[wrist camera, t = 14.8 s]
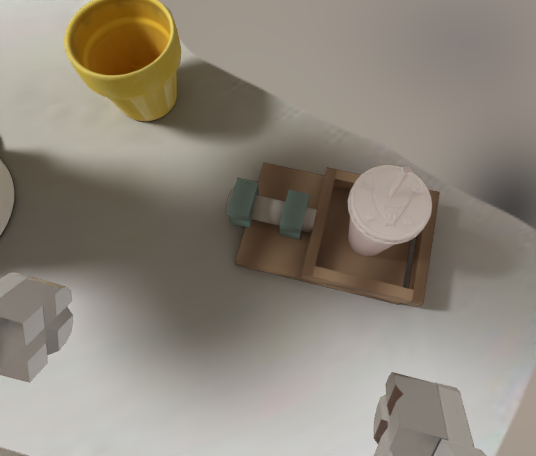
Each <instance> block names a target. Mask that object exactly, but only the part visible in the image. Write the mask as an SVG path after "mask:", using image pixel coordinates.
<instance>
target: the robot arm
mask: <svg viewBox="0 0 536 456" xmlns="http://www.w3.org/2000/svg"><path fill="white" fill-rule="evenodd" d="M13 204H14V185H13V181H12V178H11V175H10V173H9V171H8V169H7V167H6V166H5V165H4V163H3V162H2V161H1V160H0V235H1V233H2V232H3V230H4V229H5V227H6V225H7V223H8V221H9V218H10V216H11V213H12V209H13ZM71 302H72V294H71V290H70V289H69V288H68V287H65V286H62V285H58V284H55V283H51V282H48V281H44V280H41V279H37V278H34V277H29V276H26V275H22V274H19V273H15V272H14V273H8V274H7V275H5V276H4V277H2V278H1V279H0V375H2V376H6V377H10V378H14V379H18V380H22V381H26V382H31V381H32V380H33V379H34V377H35V376H36V375H37V374H38V373H39V372H40V371H41V370H42V369H43V368H44V367H45V365H46V364H47V363H48V355H49V354H52V353H54V352H57V351H59V350H60V349H61V348H62V347H63V345H64V344H65V343H66V342H67V340H68V338H69V336H70V334H71V331H72V326H73V314H72V313H71V312H70V310H69V309H68V307H67V306H68V305H69V304H70V303H71ZM374 439H375V441H376V442H377V444H378V447H377V449H376V452H375V454H374V456H486V455H485V454H484V452H483V451H482V450H480V449H476V448H474V444H473V440H472V436H471V433H470V429H469V425H468V421H467V417H466V414H465V410H464V406H463V402H462V398H461V394H460V391H459V390H458V389H457V388H455V387H451V386H447V385H442V384H438V383H433V382H429V381H425V380H421V379H417V378H413V377H409V376H405V375H401V374H397V373H393V372H392V373H391V374H390V375H389V377H388V380H387V382H386V395H384V396H382V397H380V400H379V403H378V406H377V409H376V414H375V419H374ZM0 456H28V455H25V454H22V453H19V452H15V451H12V450H9V449H6V448H2V447H0Z"/></svg>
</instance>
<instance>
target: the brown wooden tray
mask: <svg viewBox="0 0 536 456" xmlns="http://www.w3.org/2000/svg"><path fill="white" fill-rule="evenodd" d="M360 176H361V175H359V174H355V173H350V172H346V171H341V170H337V169H332V168H328V167H327V170H326V174H325V176H322V175H318V174H313V173H309V172H304V171H300V170H295V169H291V168H286V167H282V166H277V165H273V164H268V163H263V167H262V170H261V174H260V177H259V181H258V182H254V181H250V180H245V179H241V178H237V182H236V185H235V188H234V190H231V191H230V194H229V196H228V200H227V205H226V213H227V214H228V216H229V220H230V223H231V224H235V225H239V226H243V227H245V230H244V233H243V237H242V240H241V244H240V247H239V251H238V254H237V258H236V261H235V263H236V265H239V266H243V267H247V268H251V269H256V270H260V271H264V272H268V273H272V274H276V275H280V276H284V277H288V278H292V279H296V280H300V281H304V282H308V283H312V284H316V285H320V286H325V287H329V288H333V289H337V290H341V291H345V292H349V293H353V294H357V295H361V296H365V297H369V298H373V299H377V300H381V301H385V302H389V303H393V304H399V303H403V304H407V305H411V306H415V307H417V306H419V305H421V304H423V302H424V295H425V288H426V281H427V274H428V267H429V261H430V254H431V247H432V240H433V233H434V227H435V220H436V213H437V206H438V199H439V192H437V191H432V190H429V193H430V195H431V200H432V211H431V216H430V218H429V221H428V222H427V224H426V225H425V227H424V229H423V230H422V231H421V232H420V233H419V234H418V235H417V237H416V243H415V249H414V256H413V262H412V268H411V274H410V281H409V287H408V288H404V287H403V284H404V278H405V272H406V265H407V259H408V253H409V247H410V241H411V240H409V241H407V242H404V243H400V244H395V245H393V246H391V247H389V248H388V249H386V250H384V251H382V252H381V253H379V254H377V255H375V256H370V257H368V256H362V255H360V254H358V253H356V252H355V251H354V250H353V249H352V248H351V246H350V244H349V240H348V235H349V224H350V214H349V211H348V198H349V194H350V190H351V189H352V187H353V185H354V183H355V182H356V180H357V179H358V178H359V177H360Z"/></svg>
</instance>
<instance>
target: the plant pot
mask: <svg viewBox="0 0 536 456" xmlns="http://www.w3.org/2000/svg"><path fill="white" fill-rule="evenodd" d="M64 45H65V51H66V54H67V56H68V58H69V60H70V62H71V64H72V65H73V67H74V68H75V70H76V71H77V73H78V74H79V76H80V77H81V78H82V80H83V81H84V82H85V84H86V85H87V86H88V87H89V88H90V89H92V90H93V91H94V92H96V93H98V94H100V95H102V96H105V97H107V98H108V99H109V100H110V101H112V102H113V103H114V104H115V105H116V106H117V107H118V108H119V109H120V110H121V111H122V112H123V113H124V114H125V115H127V116H128V117H130V118H132V119H134V120H138V121H152V120H156V119H158V118H161V117H162V116H164V115H166V114H167V113H168V112H169V111H170V110H171V109H172V107H173V106H174V104H175V102H176V98H177V69H178V66H179V63H180V59H181V46H180V41H179V36H178V32H177V28H176V25H175V22H174V19H173V17H172V15H171V13H170V12H169V10H168V9H167V8H166V7H165V6H164V5H163V4H162V3H161V2H159V1H158V0H92V1H90V2H89V3H87V4H86V5H84V6H83V7H82V8H81V9H80V10H79V11H78V12H77V13H76V14H75V15H74V16H73V18H72V19H71V21H70V22H69V24H68V26H67V29H66V32H65V37H64Z"/></svg>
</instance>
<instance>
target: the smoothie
mask: <svg viewBox="0 0 536 456" xmlns="http://www.w3.org/2000/svg"><path fill="white" fill-rule="evenodd" d="M348 211H349V214H350V224H349V235H348V240H349V244H350V246H351V248H352V249H353V250H354V251H355V252H356V253H358V254H360V255H362V256H368V257H370V256H375V255H377V254H379V253H381V252H382V251H384V250H386V249H388V248H389V247H391V246H393V245H395V244H400V243H404V242H407V241H409V240H411V239H413V238H414V237H416V236H417V235H418V234H419V233H420V232H421V231H422V230H423V229H424V227H425V225H426V224H427V222H428V221H429V218H430V216H431V211H432V200H431V195H430V193H429V190H428V188H427V186H426V185H425V183H424V182H423V181H422V180H421V179H420V178H419V177H418V176H417V175H416V174H414V173H413V172H411V168H410V167H408V166H405V167H404V168H403V167H399V166H394V165H381V166H377V167H373V168H371V169H369V170H367V171H366V172H364V173H363V174H362V175H361V176H360V177H359V178H358V179H357V180H356V182H355V183H354V185H353V187H352V189H351V190H350V194H349V198H348Z"/></svg>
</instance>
